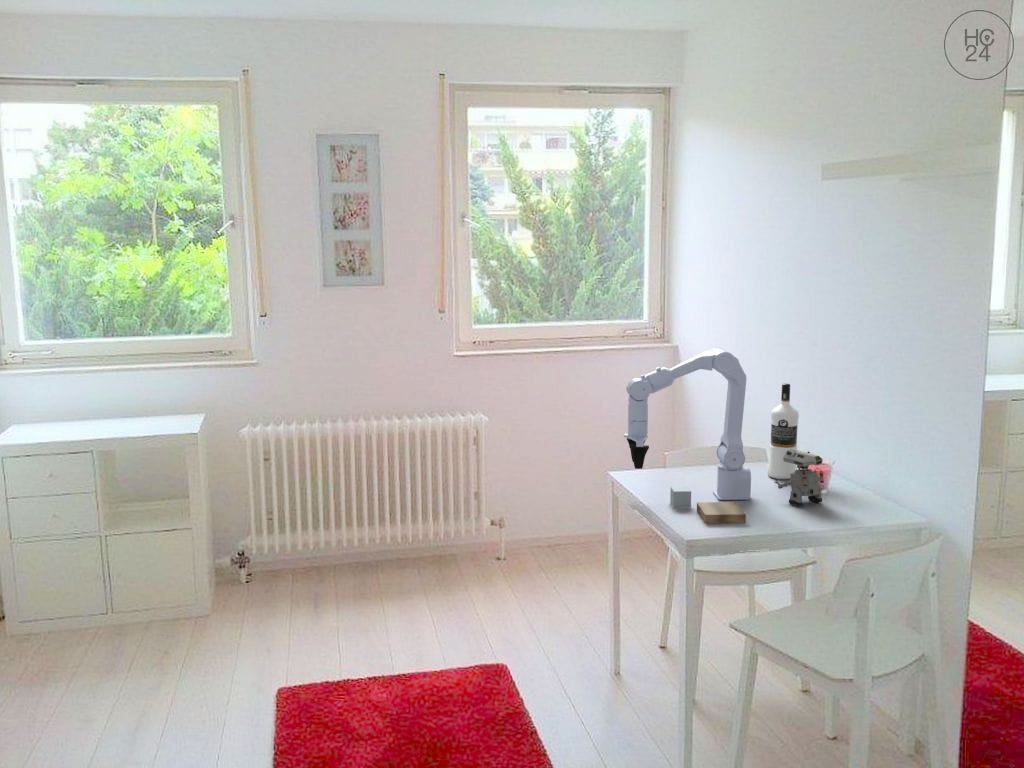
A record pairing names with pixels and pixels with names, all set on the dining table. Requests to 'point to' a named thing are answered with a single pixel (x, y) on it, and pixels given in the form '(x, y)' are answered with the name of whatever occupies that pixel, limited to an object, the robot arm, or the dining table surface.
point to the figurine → (803, 477)
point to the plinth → (721, 512)
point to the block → (680, 497)
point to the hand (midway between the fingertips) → (637, 465)
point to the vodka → (783, 436)
